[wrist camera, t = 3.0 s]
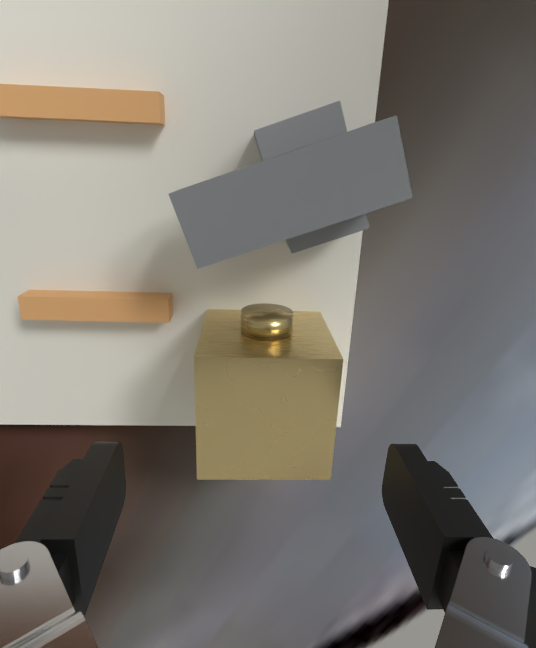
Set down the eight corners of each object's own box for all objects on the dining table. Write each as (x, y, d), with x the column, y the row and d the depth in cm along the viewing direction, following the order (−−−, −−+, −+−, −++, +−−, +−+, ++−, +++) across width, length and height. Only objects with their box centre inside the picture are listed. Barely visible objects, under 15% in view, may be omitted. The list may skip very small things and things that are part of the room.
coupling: (207, 291, 19) (193, 334, 14) (321, 294, 19) (345, 337, 14) (208, 422, 21) (197, 496, 16) (310, 423, 21) (328, 496, 17)
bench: (392, -66, 16) (470, -187, 10) (339, 413, 23) (368, 493, 17) (-269, -112, 14) (-581, -278, 9) (-110, 409, 21) (-231, 493, 16)
